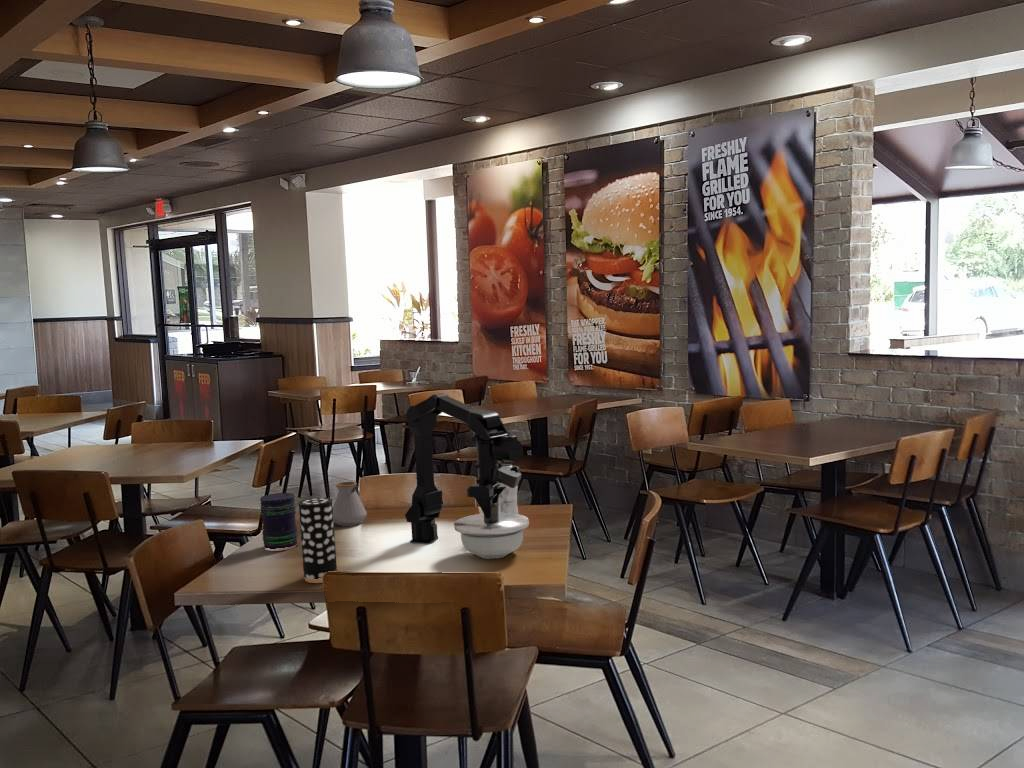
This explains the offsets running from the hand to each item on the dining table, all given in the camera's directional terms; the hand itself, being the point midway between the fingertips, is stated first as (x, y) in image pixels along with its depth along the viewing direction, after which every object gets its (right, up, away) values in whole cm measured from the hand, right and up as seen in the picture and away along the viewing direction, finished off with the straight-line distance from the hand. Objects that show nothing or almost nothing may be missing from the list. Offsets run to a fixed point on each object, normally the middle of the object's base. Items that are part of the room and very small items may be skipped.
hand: (491, 516), depth 245 cm
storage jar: (-61, -12, +20) cm, 66 cm away
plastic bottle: (+5, -8, +24) cm, 26 cm away
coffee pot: (-44, -9, +41) cm, 61 cm away
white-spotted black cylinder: (-43, -14, -13) cm, 47 cm away
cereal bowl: (+1, -11, +1) cm, 11 cm away
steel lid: (0, -3, 0) cm, 2 cm away
